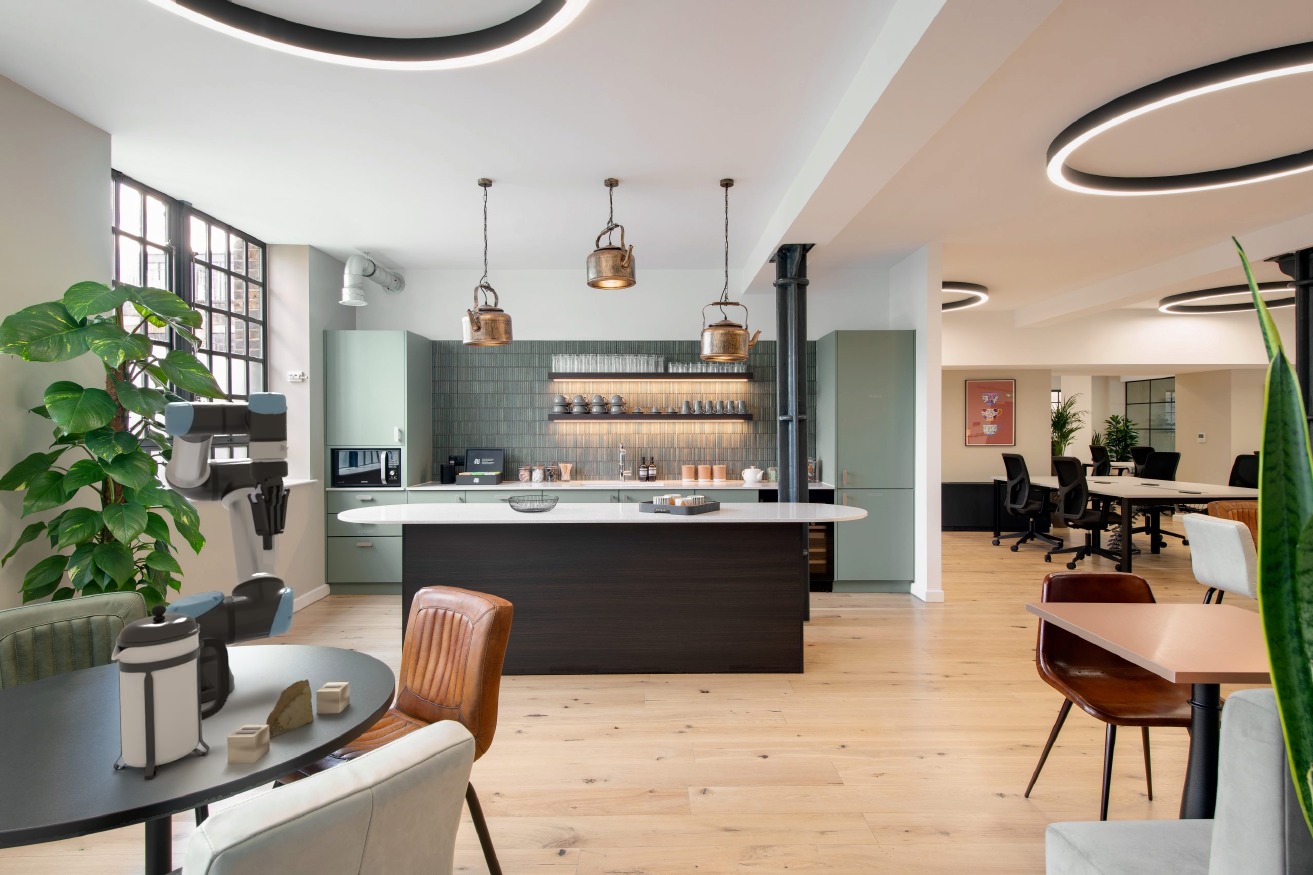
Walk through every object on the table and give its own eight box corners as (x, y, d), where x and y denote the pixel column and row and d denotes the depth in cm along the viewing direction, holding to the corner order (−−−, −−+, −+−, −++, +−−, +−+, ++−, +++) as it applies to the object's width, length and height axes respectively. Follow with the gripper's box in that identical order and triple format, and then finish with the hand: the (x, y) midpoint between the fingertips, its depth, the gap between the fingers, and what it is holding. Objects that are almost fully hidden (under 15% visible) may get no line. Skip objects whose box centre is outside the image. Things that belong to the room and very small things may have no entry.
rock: (260, 735, 130) (316, 716, 135) (253, 693, 133) (308, 676, 139) (265, 748, 138) (317, 729, 143) (258, 709, 141) (309, 692, 147)
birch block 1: (244, 750, 129) (243, 724, 128) (269, 749, 129) (269, 724, 129) (227, 763, 124) (227, 736, 123) (254, 762, 124) (253, 736, 124)
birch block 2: (327, 704, 150) (327, 682, 150) (349, 703, 150) (349, 681, 150) (316, 713, 145) (316, 690, 145) (339, 713, 145) (339, 690, 145)
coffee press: (199, 773, 120) (195, 611, 119) (94, 788, 115) (89, 619, 115) (231, 731, 136) (228, 588, 136) (141, 742, 132) (137, 595, 131)
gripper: (268, 461, 142) (271, 569, 143) (300, 458, 155) (303, 557, 156) (234, 462, 142) (236, 569, 143) (269, 459, 155) (271, 557, 156)
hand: (271, 563), depth 149 cm, fingers closed
